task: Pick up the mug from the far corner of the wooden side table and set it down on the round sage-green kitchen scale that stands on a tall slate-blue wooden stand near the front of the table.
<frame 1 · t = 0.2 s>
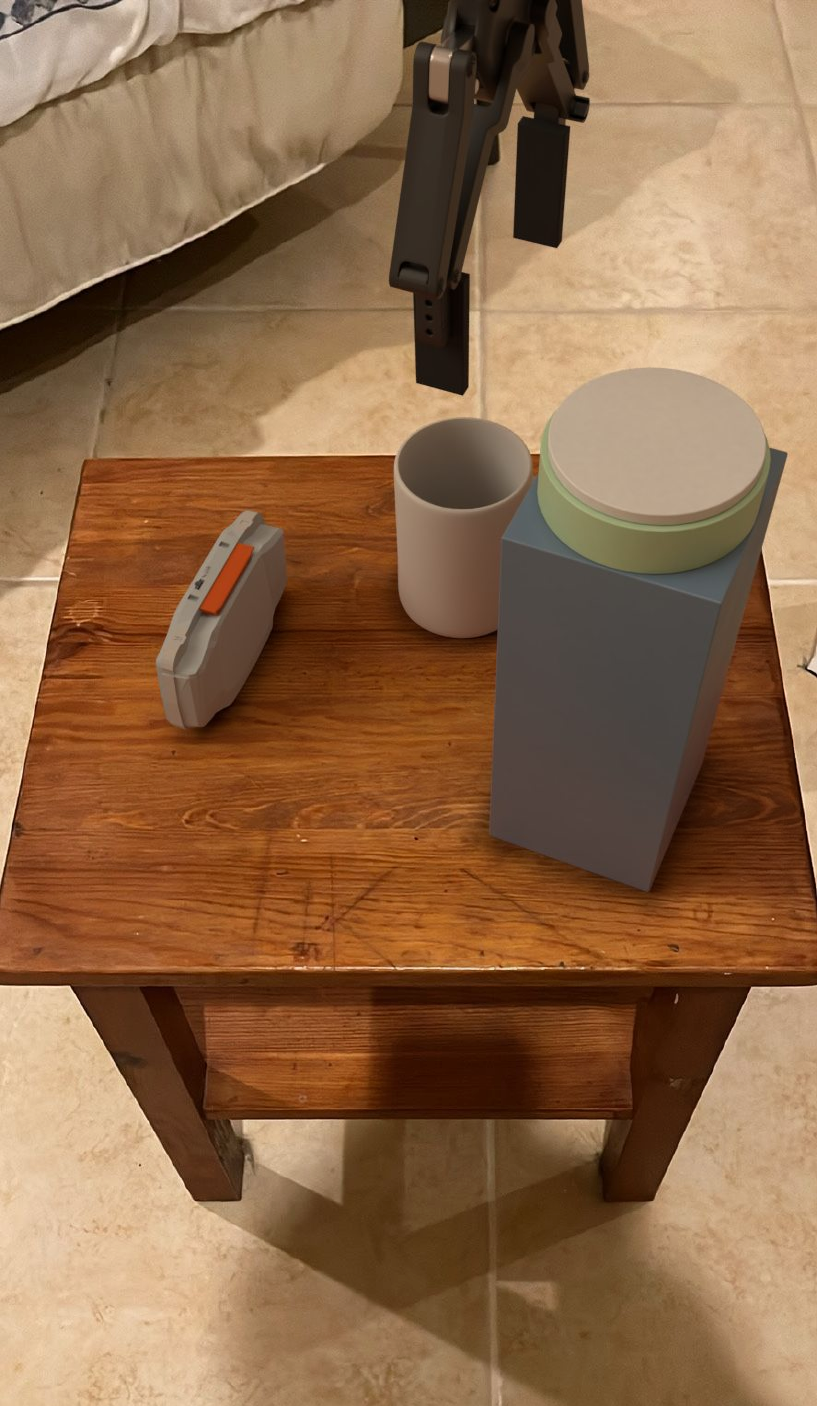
hand: (491, 309, 72), 20 cm above the table, tool pointing down, fingers open, 13 cm apart
grey case: (236, 664, 85), on the table
scale: (647, 493, 58), resting on stand
stand: (596, 799, 79), on the table
mug: (487, 593, 88), on the table
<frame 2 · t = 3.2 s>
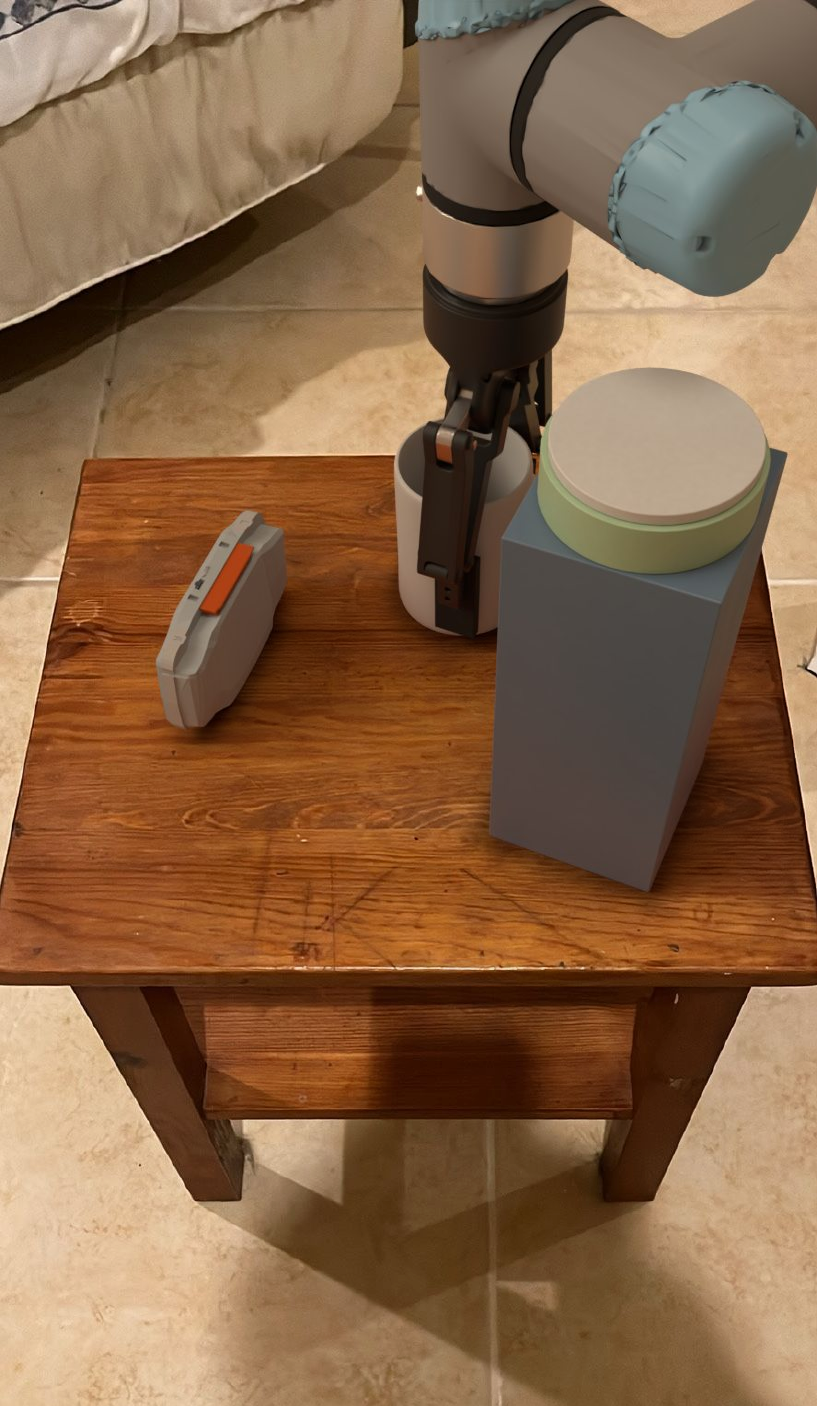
hand: (484, 579, 86), 2 cm above the table, tool pointing down, fingers closed on mug, 8 cm apart
mug: (488, 591, 88), on the table, touching gripper
everything else where it was.
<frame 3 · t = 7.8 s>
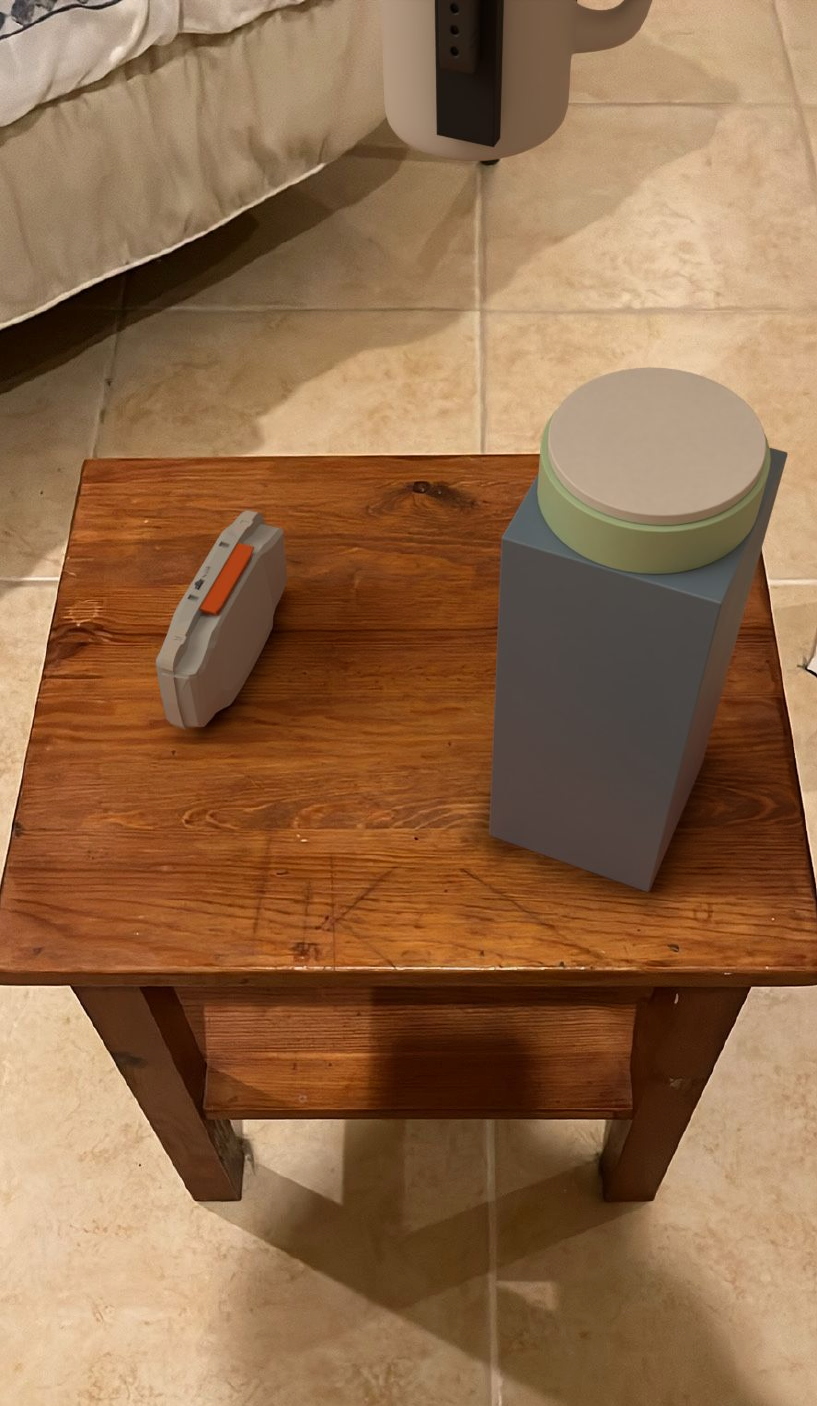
hand: (508, 82, 59), 33 cm above the table, tool pointing down, fingers closed on mug, 8 cm apart
mug: (513, 114, 61), point 31 cm above the table, touching gripper
everything else where it was.
when the fingers open (29 cm above the table, at t = 12.8 s): mug stays where it is, resting on scale.
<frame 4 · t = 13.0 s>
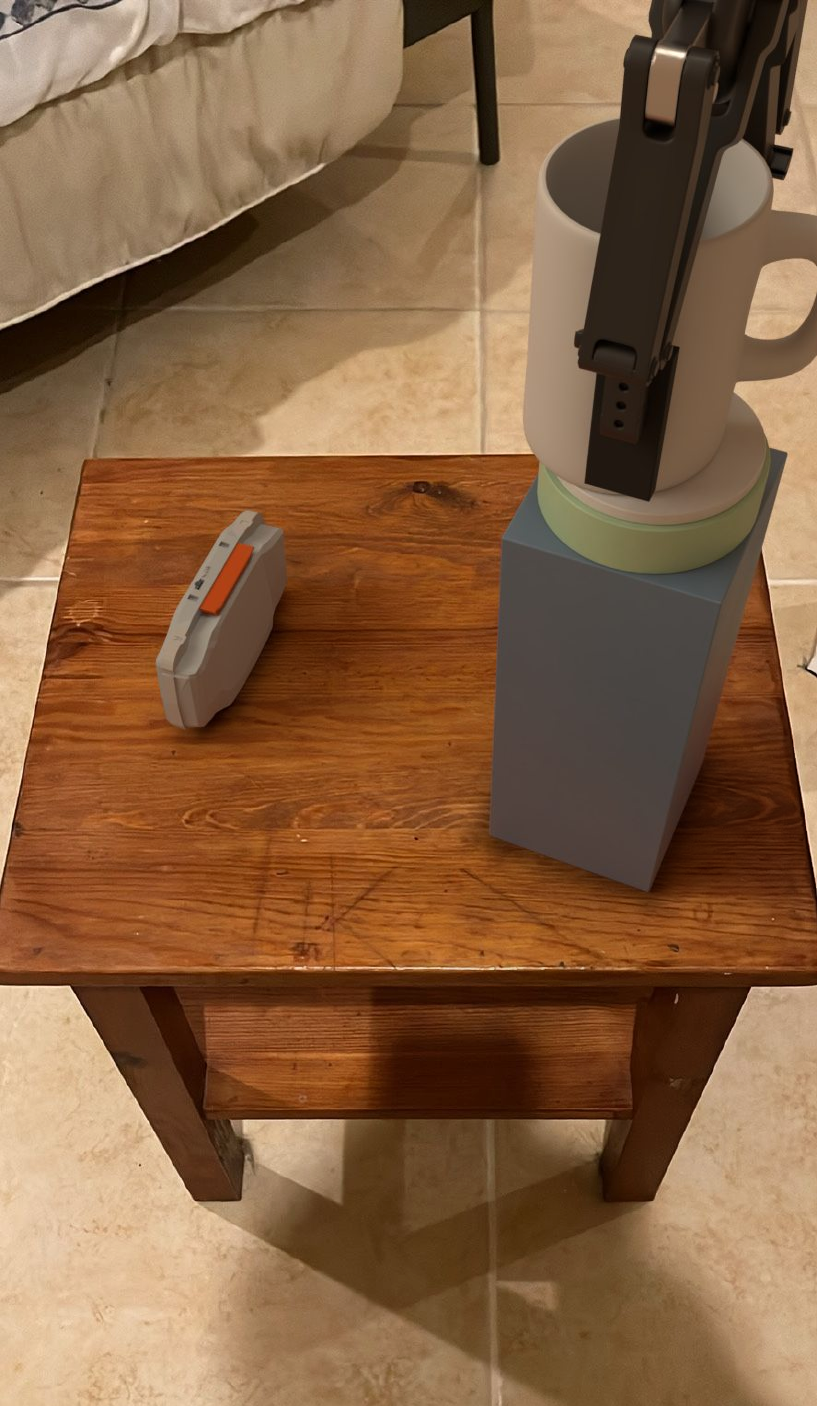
hand: (662, 404, 54), 29 cm above the table, tool pointing down, fingers open, 10 cm apart
mug: (661, 430, 56), point 27 cm above the table, touching scale
everything else where it was.
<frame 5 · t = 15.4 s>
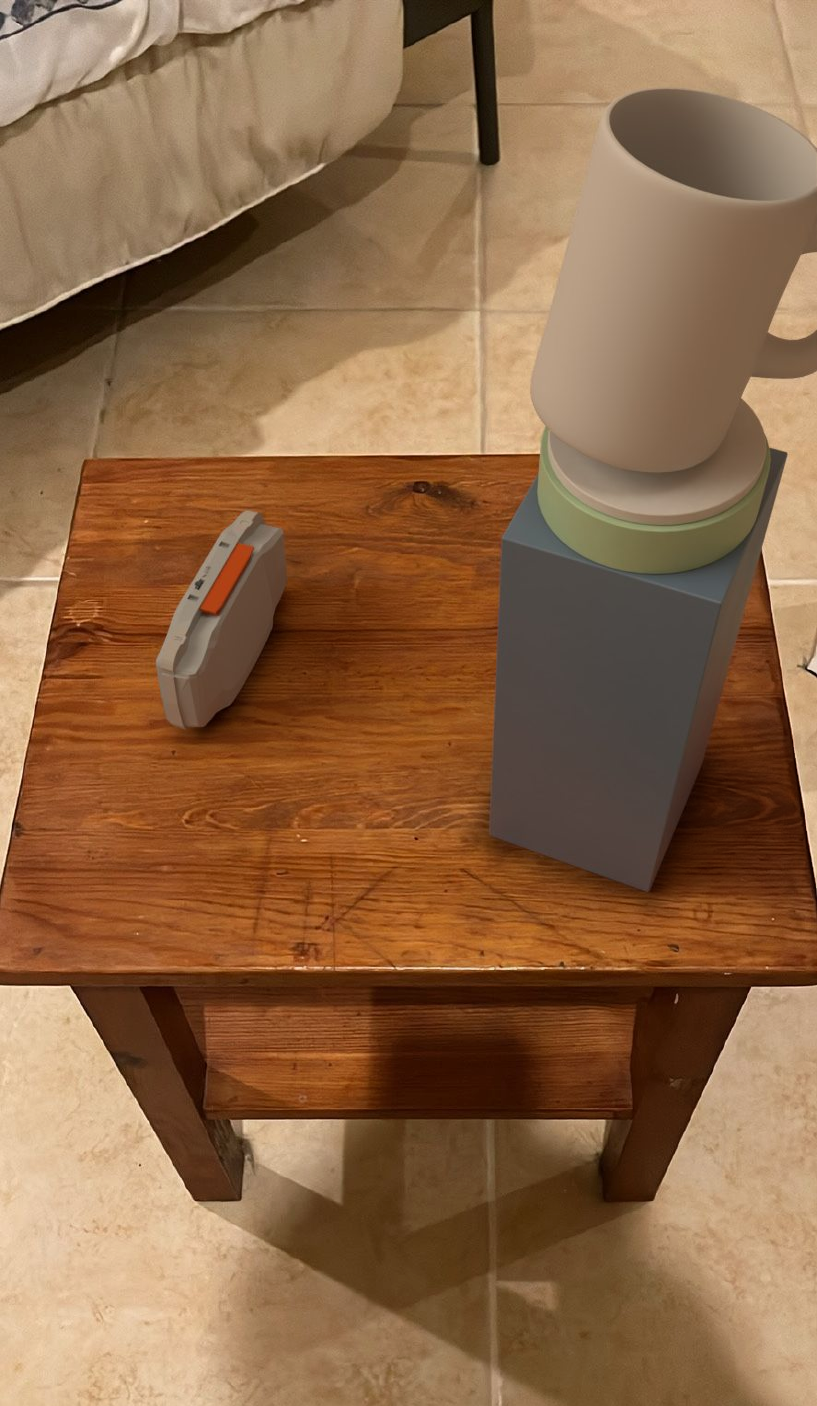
mug: (664, 420, 56), point 27 cm above the table, touching gripper, scale
everything else where it was.
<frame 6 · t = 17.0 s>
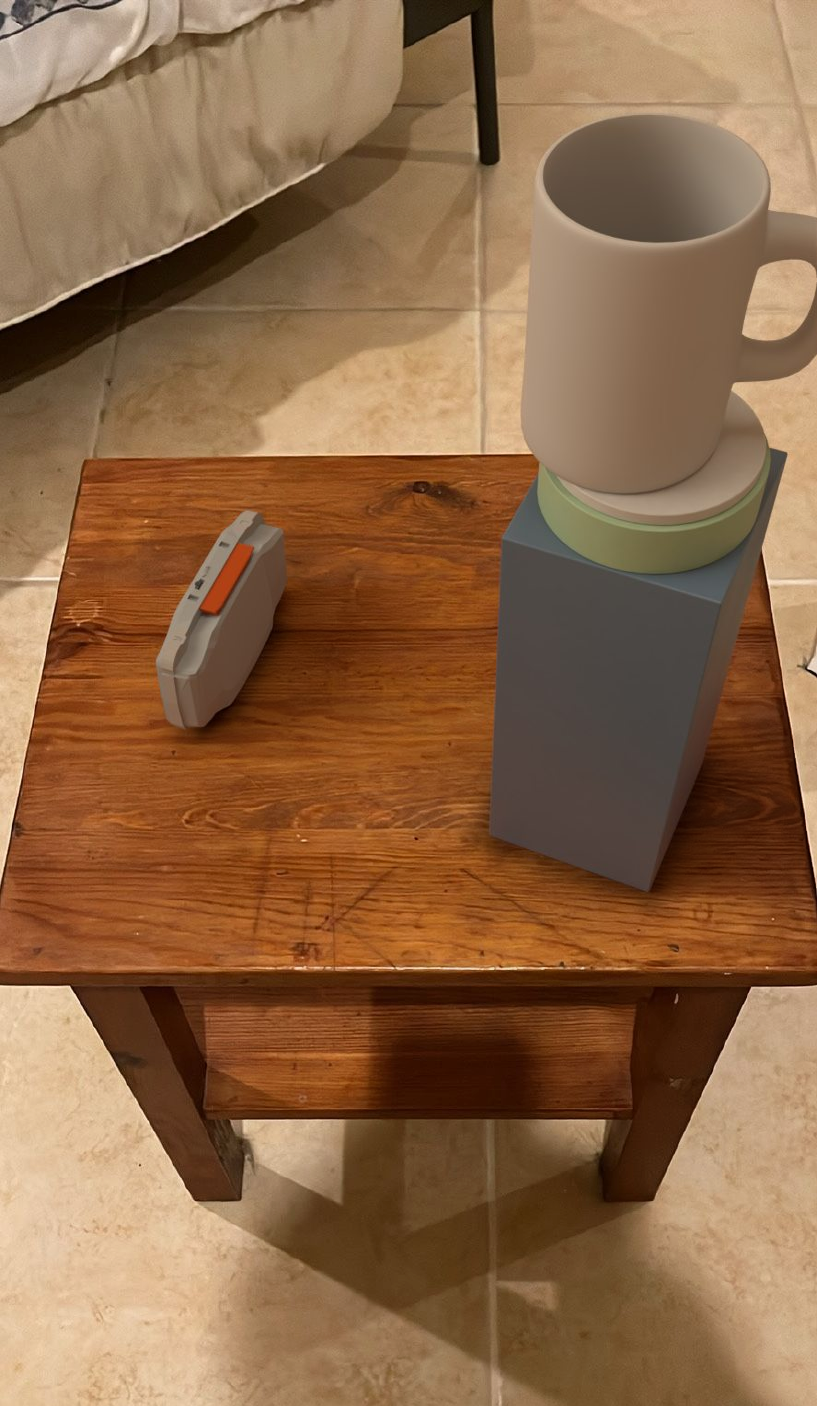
mug: (659, 430, 56), point 27 cm above the table, touching scale
everything else where it was.
at the end: mug 0.7 cm off-centre on the scale, point 2.9 cm above the scale's base; mug tilted 0°; the gripper is holding nothing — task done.
